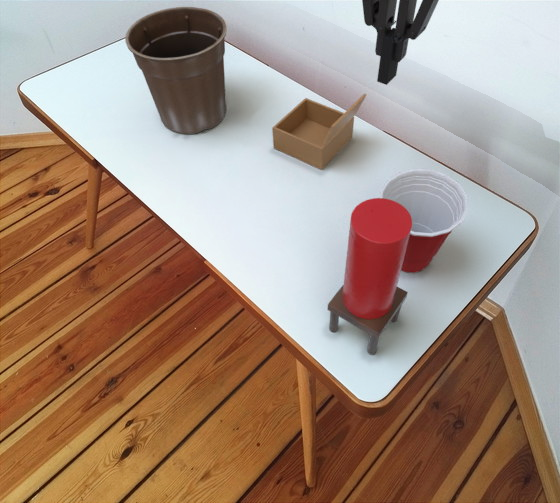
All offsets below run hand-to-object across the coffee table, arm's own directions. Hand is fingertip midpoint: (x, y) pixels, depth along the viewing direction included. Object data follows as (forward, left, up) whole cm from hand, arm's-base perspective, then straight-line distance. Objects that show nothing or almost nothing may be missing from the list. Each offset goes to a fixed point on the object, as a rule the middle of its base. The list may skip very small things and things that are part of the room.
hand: (386, 78), depth 71 cm
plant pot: (+35, +6, -17) cm, 39 cm away
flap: (+6, 0, -9) cm, 11 cm away
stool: (-13, +26, -17) cm, 34 cm away
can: (-13, +26, -11) cm, 31 cm away
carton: (+12, 0, -17) cm, 20 cm away
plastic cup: (-13, +13, -17) cm, 25 cm away
